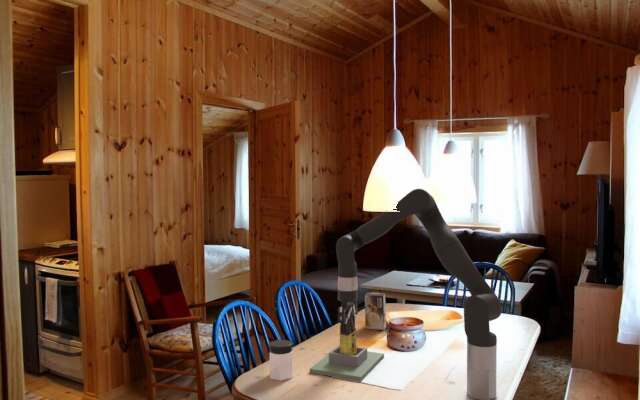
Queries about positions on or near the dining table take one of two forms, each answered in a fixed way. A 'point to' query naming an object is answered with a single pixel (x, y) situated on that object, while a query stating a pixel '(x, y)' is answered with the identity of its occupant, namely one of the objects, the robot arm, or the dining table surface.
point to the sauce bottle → (348, 338)
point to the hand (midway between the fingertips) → (348, 330)
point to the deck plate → (347, 364)
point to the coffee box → (375, 311)
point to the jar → (280, 360)
